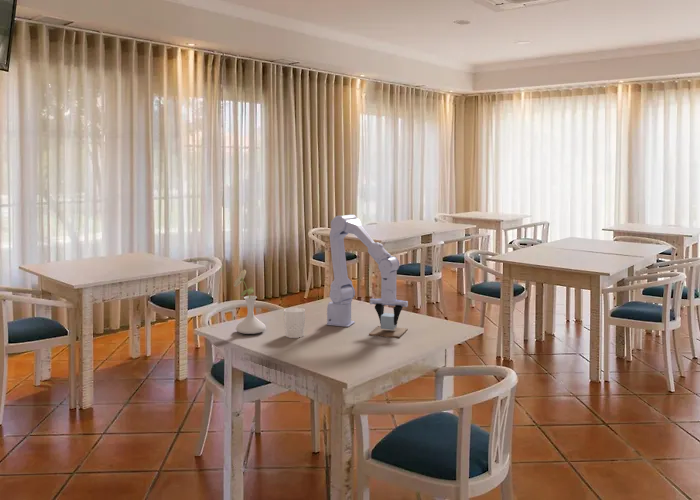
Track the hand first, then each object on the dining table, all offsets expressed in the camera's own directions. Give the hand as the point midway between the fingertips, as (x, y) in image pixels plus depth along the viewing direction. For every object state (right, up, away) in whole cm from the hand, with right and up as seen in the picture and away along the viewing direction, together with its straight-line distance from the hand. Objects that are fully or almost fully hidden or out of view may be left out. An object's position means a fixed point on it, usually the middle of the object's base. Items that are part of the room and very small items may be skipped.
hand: (388, 323), depth 241 cm
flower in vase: (-53, -4, 0) cm, 53 cm away
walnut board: (0, -3, 0) cm, 3 cm away
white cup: (-36, -4, -4) cm, 36 cm away
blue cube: (0, -2, 0) cm, 2 cm away
